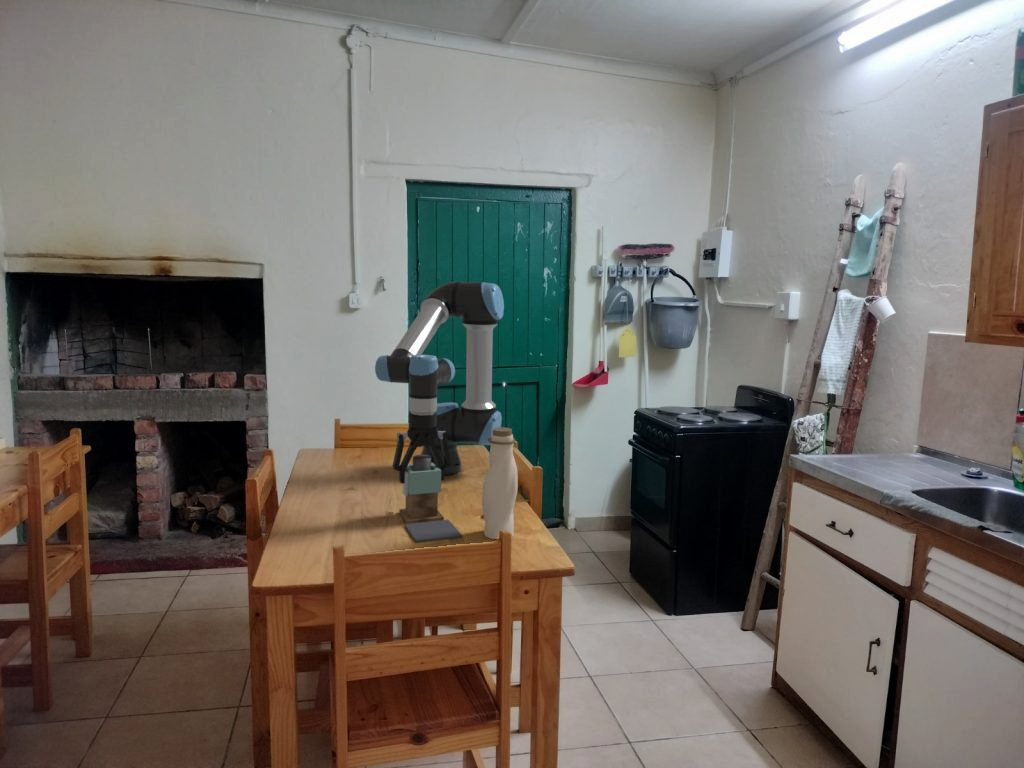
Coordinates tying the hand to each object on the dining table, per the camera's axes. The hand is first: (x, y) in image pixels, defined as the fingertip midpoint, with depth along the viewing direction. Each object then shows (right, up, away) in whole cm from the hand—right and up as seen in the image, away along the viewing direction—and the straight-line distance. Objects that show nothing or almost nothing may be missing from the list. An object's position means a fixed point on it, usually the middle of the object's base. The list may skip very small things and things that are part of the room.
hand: (421, 492), depth 187 cm
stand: (0, -7, +1) cm, 7 cm away
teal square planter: (0, +1, 0) cm, 1 cm away
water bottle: (+21, -9, -9) cm, 25 cm away
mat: (+4, -9, -10) cm, 14 cm away
